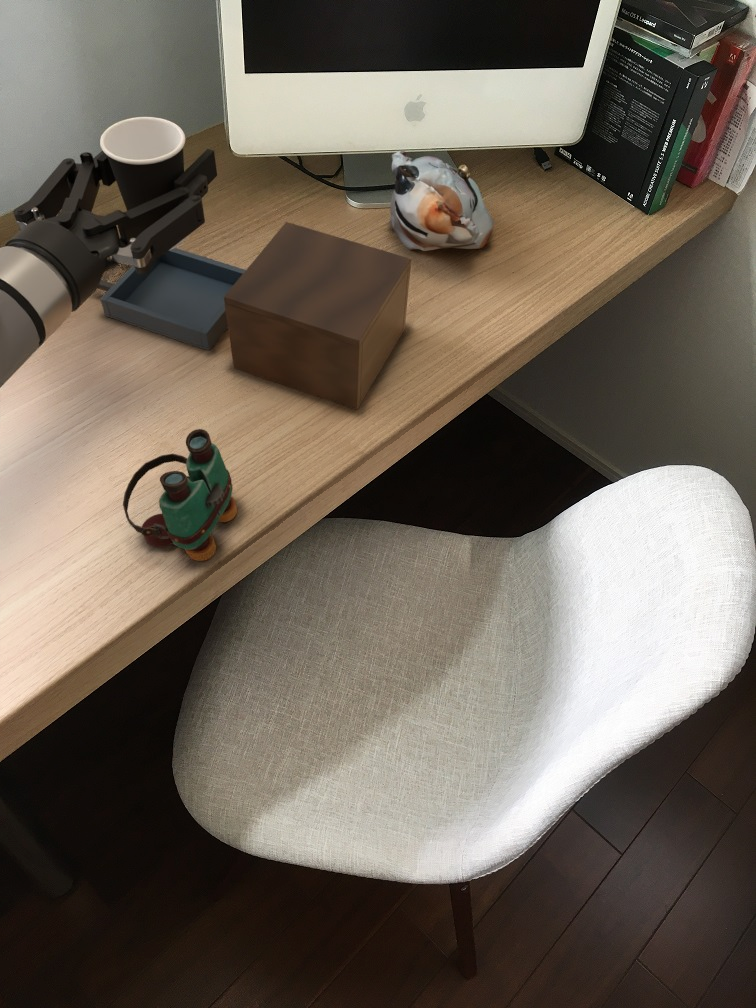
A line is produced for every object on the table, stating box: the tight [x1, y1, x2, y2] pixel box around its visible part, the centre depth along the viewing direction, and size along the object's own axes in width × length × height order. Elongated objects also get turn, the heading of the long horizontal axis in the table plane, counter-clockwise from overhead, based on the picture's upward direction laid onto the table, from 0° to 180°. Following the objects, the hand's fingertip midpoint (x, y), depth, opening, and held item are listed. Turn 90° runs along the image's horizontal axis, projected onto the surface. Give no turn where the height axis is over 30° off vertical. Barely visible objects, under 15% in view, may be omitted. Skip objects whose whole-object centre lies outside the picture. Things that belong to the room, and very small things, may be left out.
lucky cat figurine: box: [389, 150, 495, 252], centre depth 96 cm, size 15×12×14 cm
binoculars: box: [122, 428, 238, 562], centre depth 70 cm, size 9×11×10 cm
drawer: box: [97, 247, 247, 351], centre depth 91 cm, size 18×12×2 cm, turn 68°
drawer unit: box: [224, 221, 412, 411], centre depth 85 cm, size 15×14×10 cm
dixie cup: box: [99, 116, 186, 250], centre depth 79 cm, size 8×8×11 cm
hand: (175, 151), depth 80 cm, fingers closed on dixie cup, 8 cm apart
